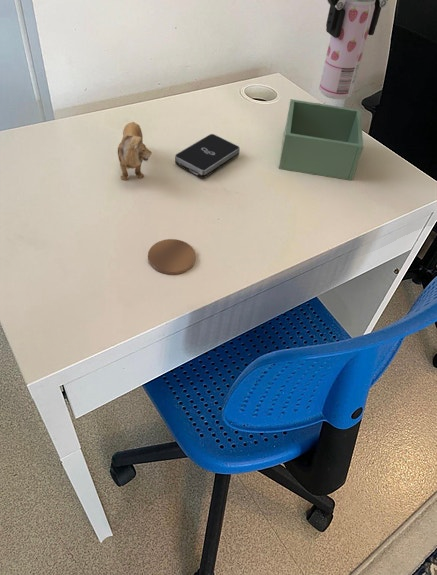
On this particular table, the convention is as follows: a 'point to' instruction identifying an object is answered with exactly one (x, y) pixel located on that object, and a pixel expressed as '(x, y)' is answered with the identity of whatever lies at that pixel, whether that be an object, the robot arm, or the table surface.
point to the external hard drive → (207, 155)
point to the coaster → (171, 256)
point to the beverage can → (346, 50)
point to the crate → (322, 140)
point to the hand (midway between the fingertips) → (349, 32)
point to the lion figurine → (132, 150)
